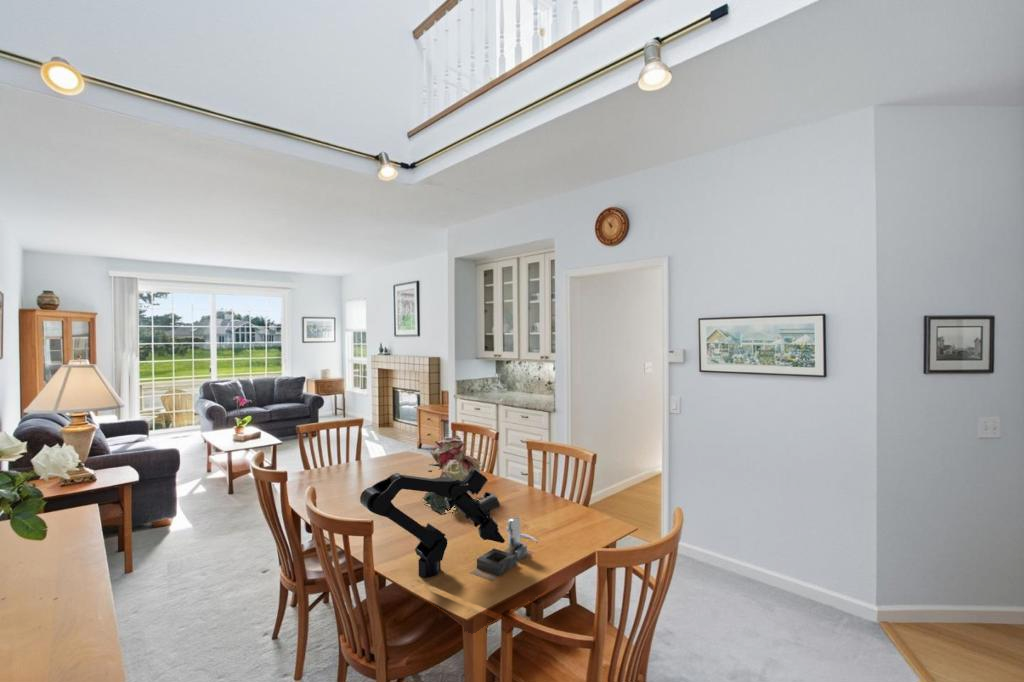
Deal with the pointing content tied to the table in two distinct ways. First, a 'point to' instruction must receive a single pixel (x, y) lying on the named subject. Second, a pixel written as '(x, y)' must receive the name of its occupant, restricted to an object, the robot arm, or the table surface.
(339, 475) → the table surface
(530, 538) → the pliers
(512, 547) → the axle
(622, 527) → the table surface
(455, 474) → the rose bouquet
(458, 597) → the table surface
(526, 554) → the block with square hole
